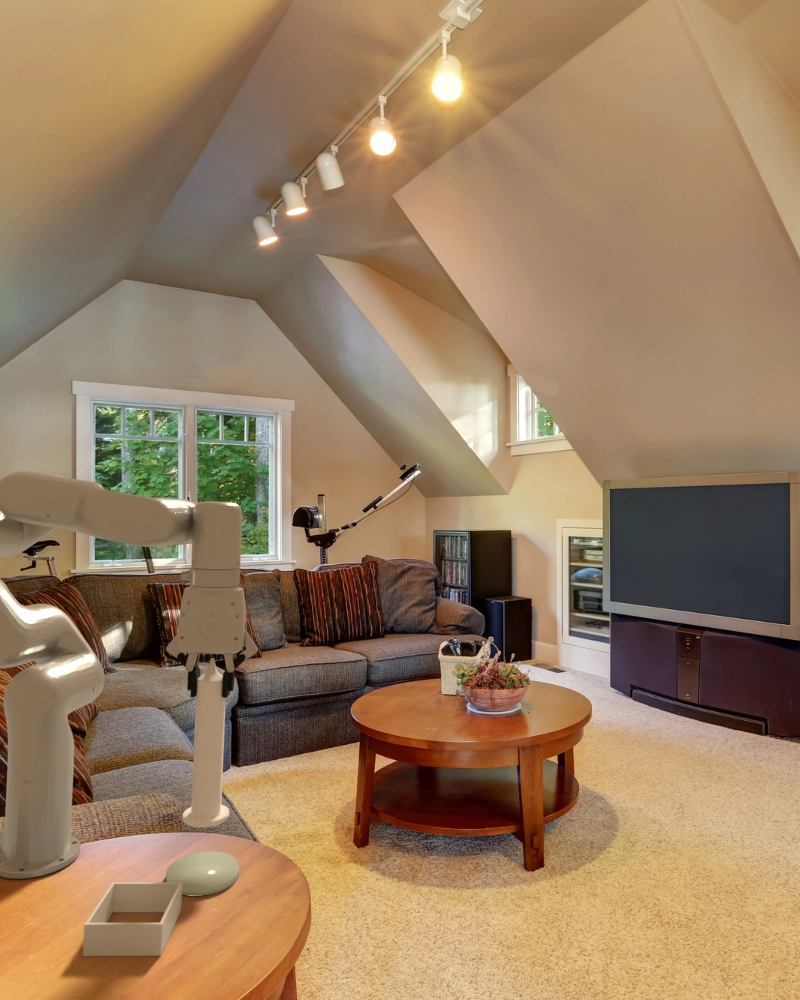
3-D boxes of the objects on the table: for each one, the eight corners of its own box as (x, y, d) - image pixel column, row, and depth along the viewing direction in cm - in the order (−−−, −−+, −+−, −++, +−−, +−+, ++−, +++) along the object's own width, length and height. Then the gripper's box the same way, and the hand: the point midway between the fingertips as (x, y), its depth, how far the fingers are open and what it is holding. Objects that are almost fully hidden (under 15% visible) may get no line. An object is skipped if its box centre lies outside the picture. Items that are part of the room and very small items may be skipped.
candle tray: (82, 956, 85) (84, 924, 86) (111, 910, 95) (112, 882, 95) (160, 955, 86) (162, 924, 86) (181, 910, 96) (182, 882, 96)
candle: (216, 830, 101) (223, 664, 101) (173, 824, 102) (180, 660, 103) (236, 810, 108) (243, 655, 108) (196, 805, 109) (202, 651, 110)
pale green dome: (149, 885, 102) (150, 877, 102) (198, 852, 112) (198, 845, 112) (207, 904, 98) (208, 896, 98) (252, 868, 108) (253, 861, 108)
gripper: (154, 580, 101) (148, 701, 101) (265, 583, 103) (260, 703, 102) (168, 575, 109) (163, 688, 109) (271, 578, 110) (267, 690, 110)
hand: (210, 694), depth 105 cm, fingers closed on candle, 4 cm apart
